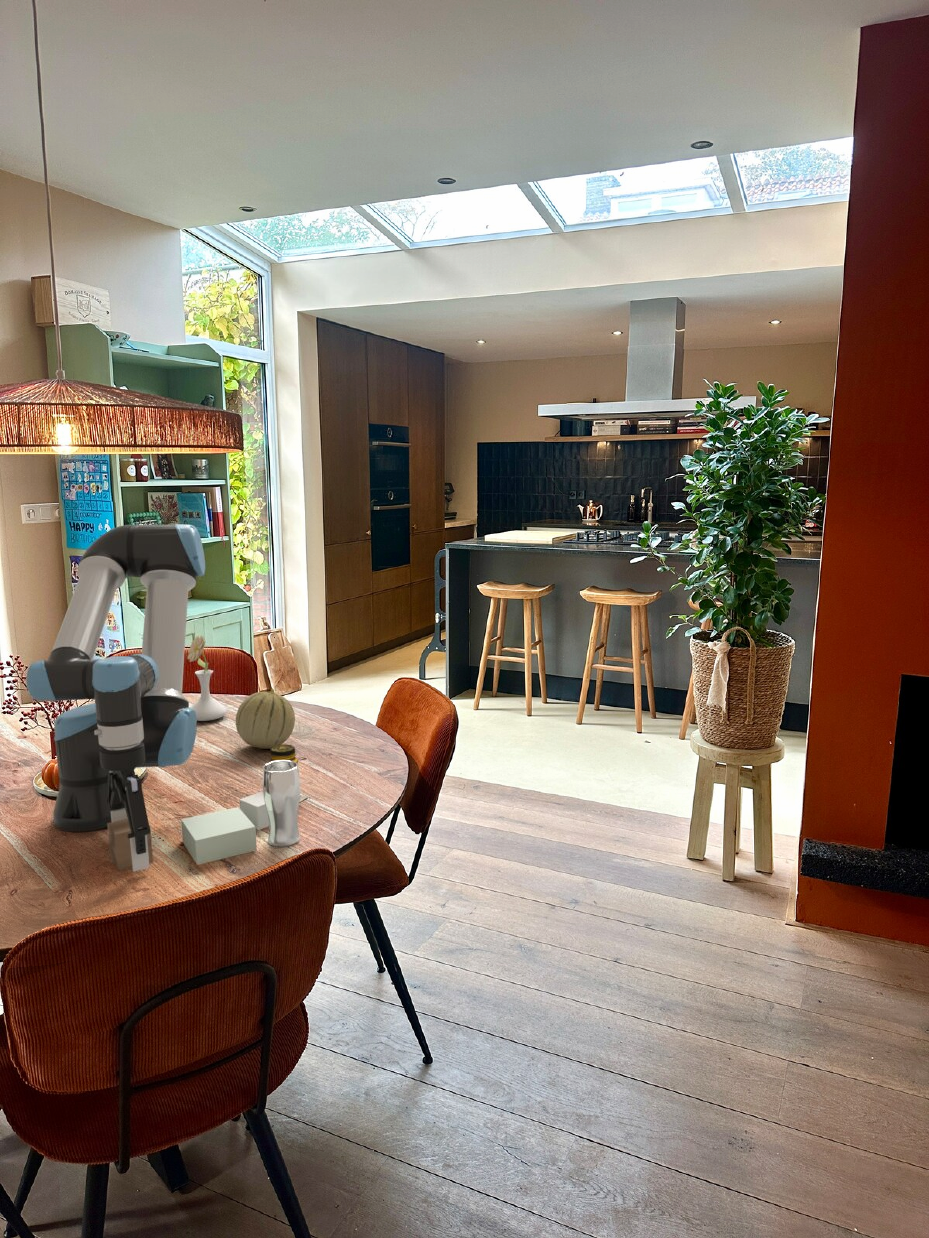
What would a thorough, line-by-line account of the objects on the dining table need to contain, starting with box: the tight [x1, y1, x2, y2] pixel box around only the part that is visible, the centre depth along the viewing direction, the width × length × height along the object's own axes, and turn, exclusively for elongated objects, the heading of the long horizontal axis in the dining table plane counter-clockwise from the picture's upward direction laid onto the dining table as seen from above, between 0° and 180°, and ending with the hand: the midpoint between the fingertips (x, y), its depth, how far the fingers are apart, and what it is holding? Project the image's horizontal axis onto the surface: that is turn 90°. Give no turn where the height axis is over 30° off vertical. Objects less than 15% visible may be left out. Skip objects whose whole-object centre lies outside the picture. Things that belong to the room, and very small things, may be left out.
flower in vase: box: [187, 634, 228, 722], centre depth 239 cm, size 13×11×25 cm
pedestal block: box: [180, 806, 258, 865], centre depth 159 cm, size 11×11×5 cm
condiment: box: [268, 743, 309, 803], centre depth 181 cm, size 7×8×12 cm
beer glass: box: [262, 760, 301, 848], centre depth 161 cm, size 7×7×15 cm
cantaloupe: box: [235, 688, 296, 750], centre depth 215 cm, size 15×15×15 cm
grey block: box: [239, 790, 270, 831], centre depth 171 cm, size 6×6×5 cm
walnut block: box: [107, 818, 154, 872], centre depth 154 cm, size 6×6×7 cm
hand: (130, 855), depth 154 cm, fingers open, 13 cm apart
